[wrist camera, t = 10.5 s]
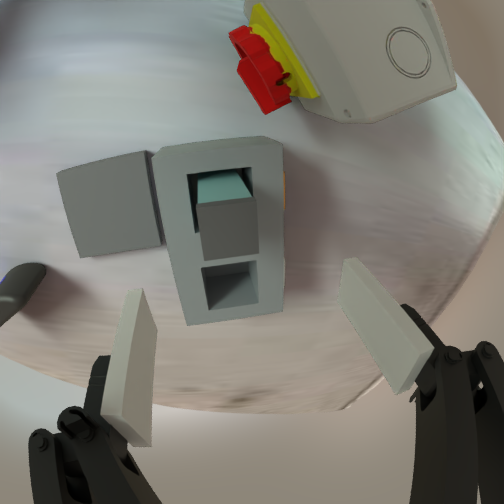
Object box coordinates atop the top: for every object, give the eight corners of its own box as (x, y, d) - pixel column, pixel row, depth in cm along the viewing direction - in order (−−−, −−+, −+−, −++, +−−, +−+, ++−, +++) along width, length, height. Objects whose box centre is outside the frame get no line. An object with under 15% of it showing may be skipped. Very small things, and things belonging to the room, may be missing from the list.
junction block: (162, 147, 29) (151, 158, 23) (267, 135, 31) (287, 143, 24) (187, 287, 39) (187, 325, 32) (271, 275, 41) (286, 310, 34)
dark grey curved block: (33, 246, 31) (3, 281, 23) (51, 269, 34) (25, 308, 25) (-7, 287, 32) (-30, 320, 24) (8, 306, 35) (-12, 340, 26)
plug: (196, 168, 31) (196, 208, 18) (233, 163, 31) (256, 200, 19) (201, 201, 33) (204, 261, 21) (235, 197, 33) (259, 253, 21)
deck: (61, 170, 28) (56, 173, 26) (146, 150, 29) (143, 151, 28) (83, 252, 34) (80, 258, 32) (162, 240, 35) (161, 245, 34)
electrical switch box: (208, 35, 25) (176, -23, 9) (311, -9, 22) (379, -74, 5) (267, 126, 32) (302, 168, 16) (363, 81, 29) (469, 93, 12)
